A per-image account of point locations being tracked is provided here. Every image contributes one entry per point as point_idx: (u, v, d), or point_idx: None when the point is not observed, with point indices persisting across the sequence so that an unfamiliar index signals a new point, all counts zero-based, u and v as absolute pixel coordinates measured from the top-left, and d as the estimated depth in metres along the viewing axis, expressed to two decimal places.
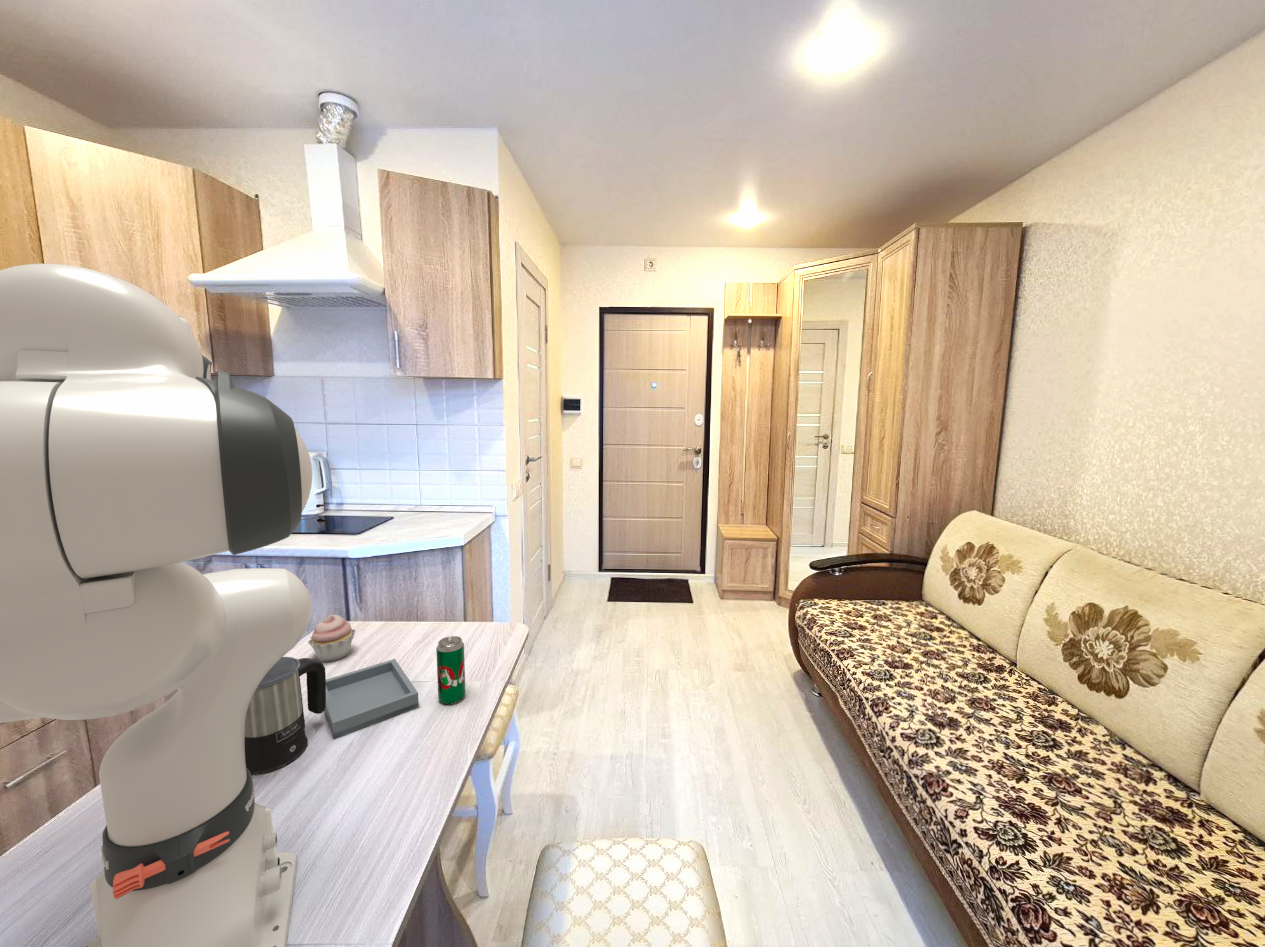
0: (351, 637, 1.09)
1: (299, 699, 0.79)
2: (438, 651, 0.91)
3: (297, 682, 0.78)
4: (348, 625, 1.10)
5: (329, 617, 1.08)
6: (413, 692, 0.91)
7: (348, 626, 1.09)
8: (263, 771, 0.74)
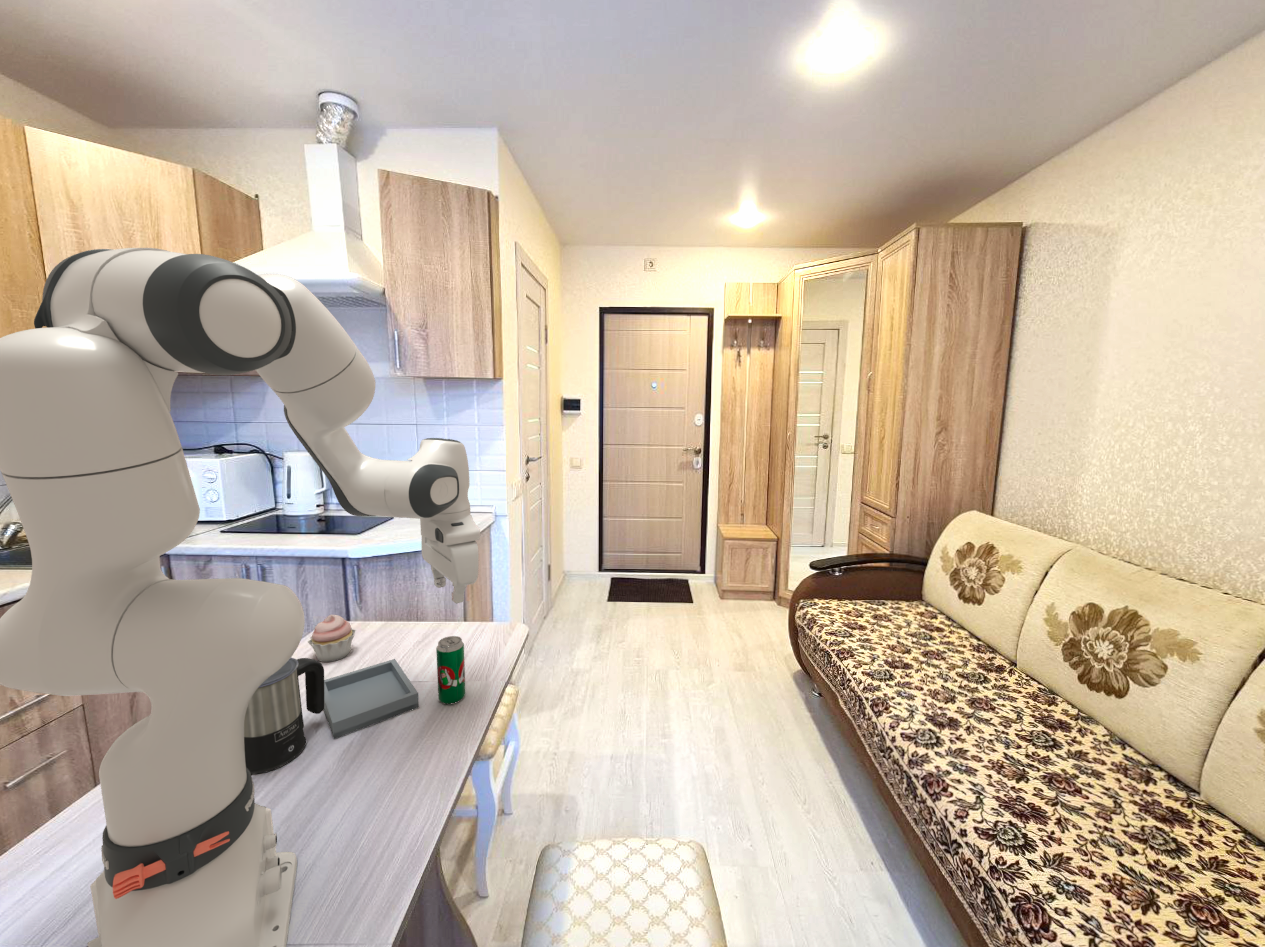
0: (351, 637, 1.09)
1: (297, 699, 0.79)
2: (438, 651, 0.91)
3: (296, 682, 0.78)
4: (348, 625, 1.10)
5: (329, 617, 1.08)
6: (413, 692, 0.91)
7: (348, 626, 1.09)
8: (261, 771, 0.74)
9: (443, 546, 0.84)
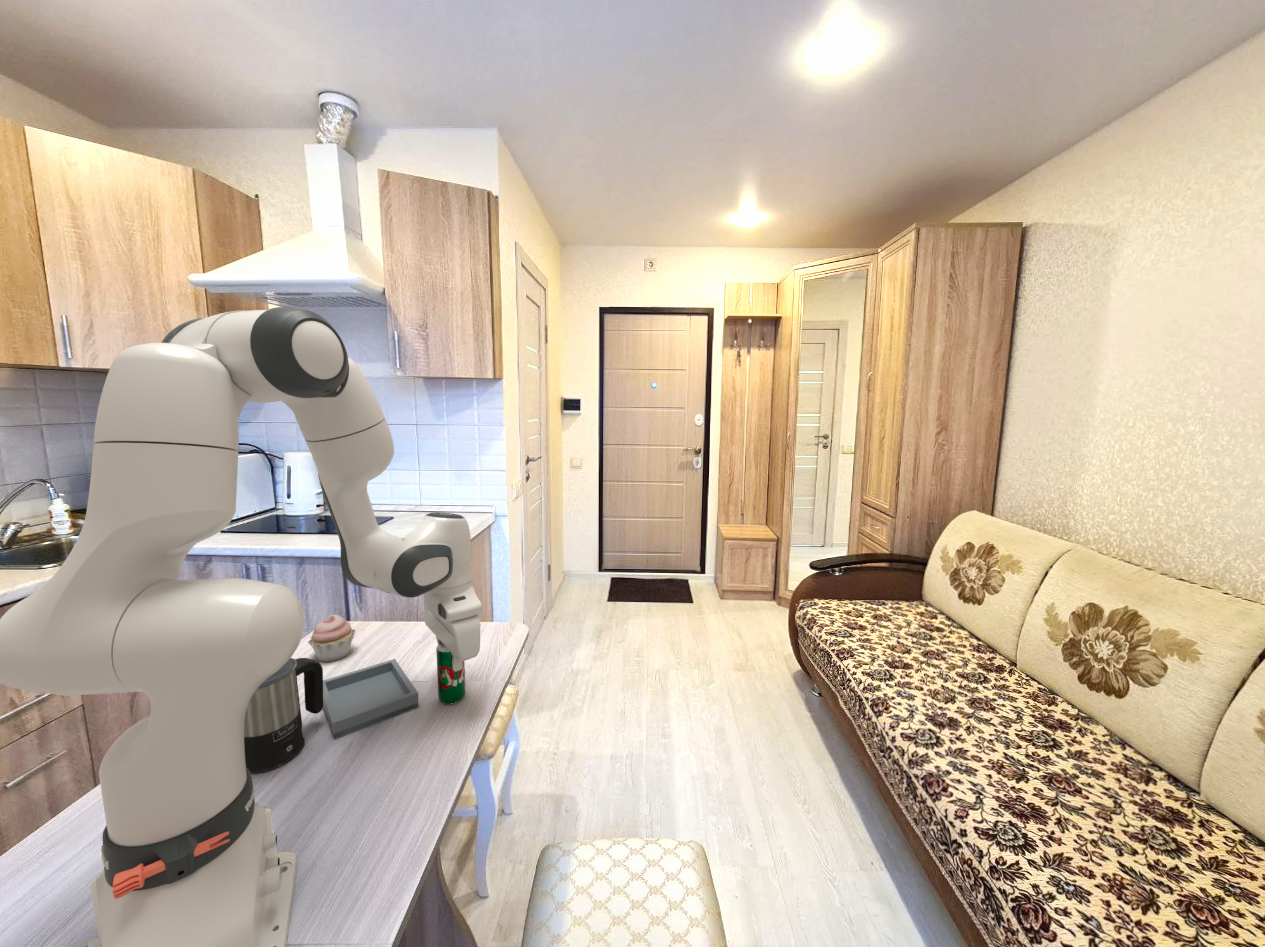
0: (351, 637, 1.09)
1: (296, 699, 0.79)
2: (438, 651, 0.91)
3: (294, 682, 0.78)
4: (348, 625, 1.10)
5: (329, 617, 1.08)
6: (413, 692, 0.91)
7: (348, 626, 1.09)
8: (260, 771, 0.74)
9: (446, 621, 0.85)
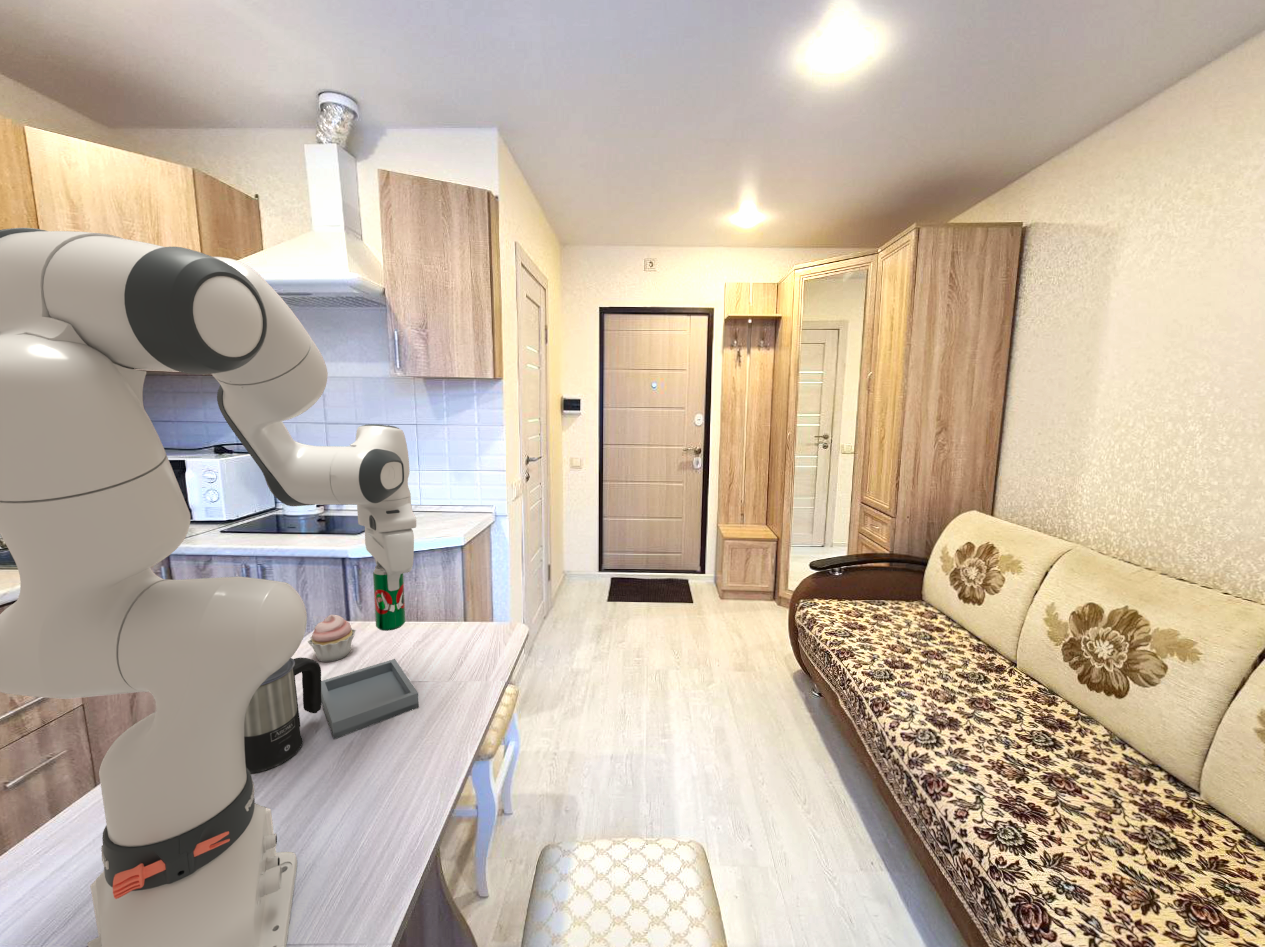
0: (351, 637, 1.09)
1: (294, 698, 0.79)
2: (374, 574, 0.88)
3: (292, 681, 0.78)
4: (348, 625, 1.10)
5: (329, 617, 1.08)
6: (413, 692, 0.91)
7: (348, 626, 1.09)
8: (257, 770, 0.74)
9: (377, 534, 0.82)
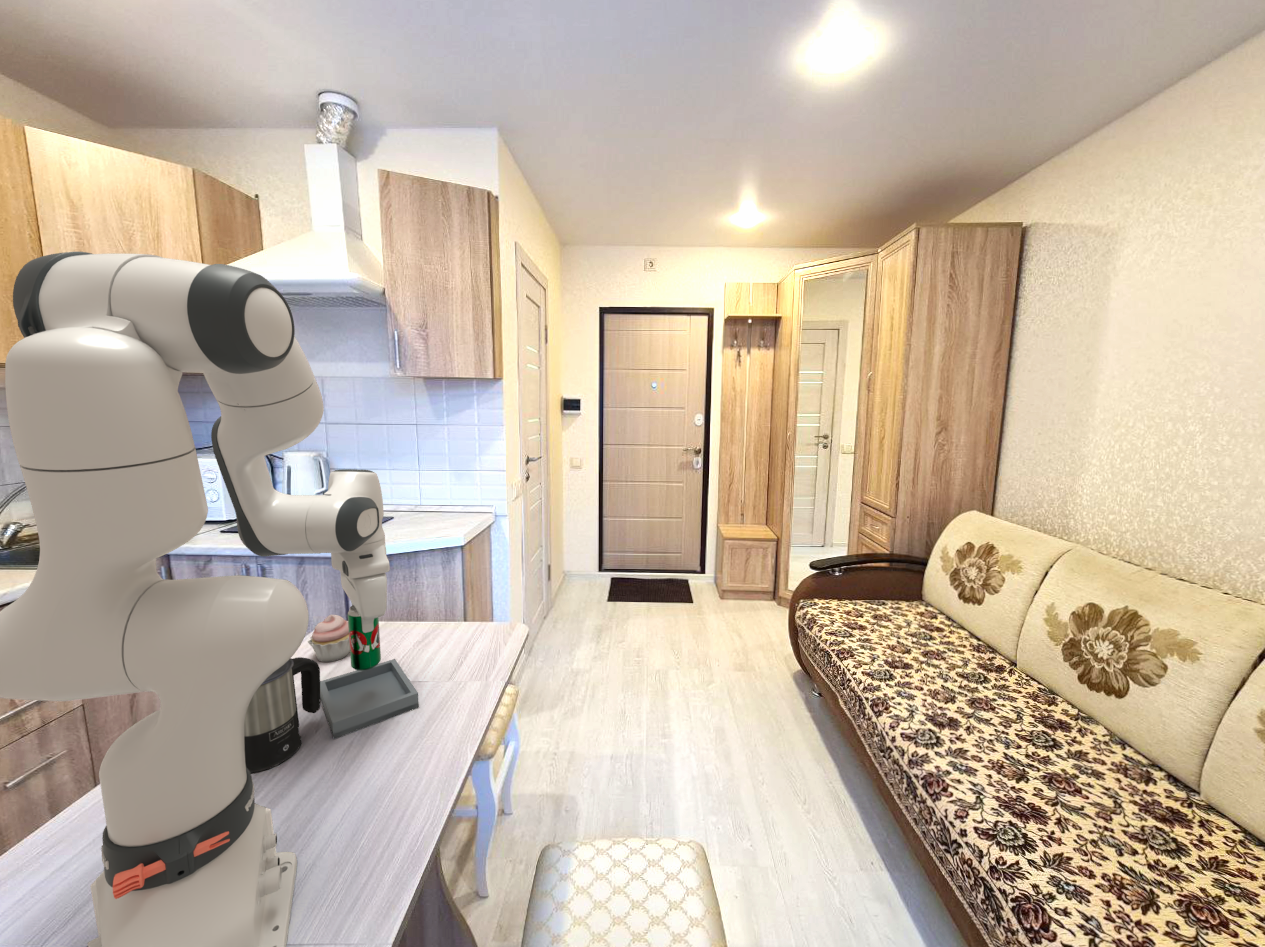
0: None
1: (292, 698, 0.79)
2: (349, 616, 0.88)
3: (291, 681, 0.78)
4: None
5: (329, 617, 1.08)
6: (413, 692, 0.91)
7: None
8: (256, 770, 0.75)
9: (350, 579, 0.83)
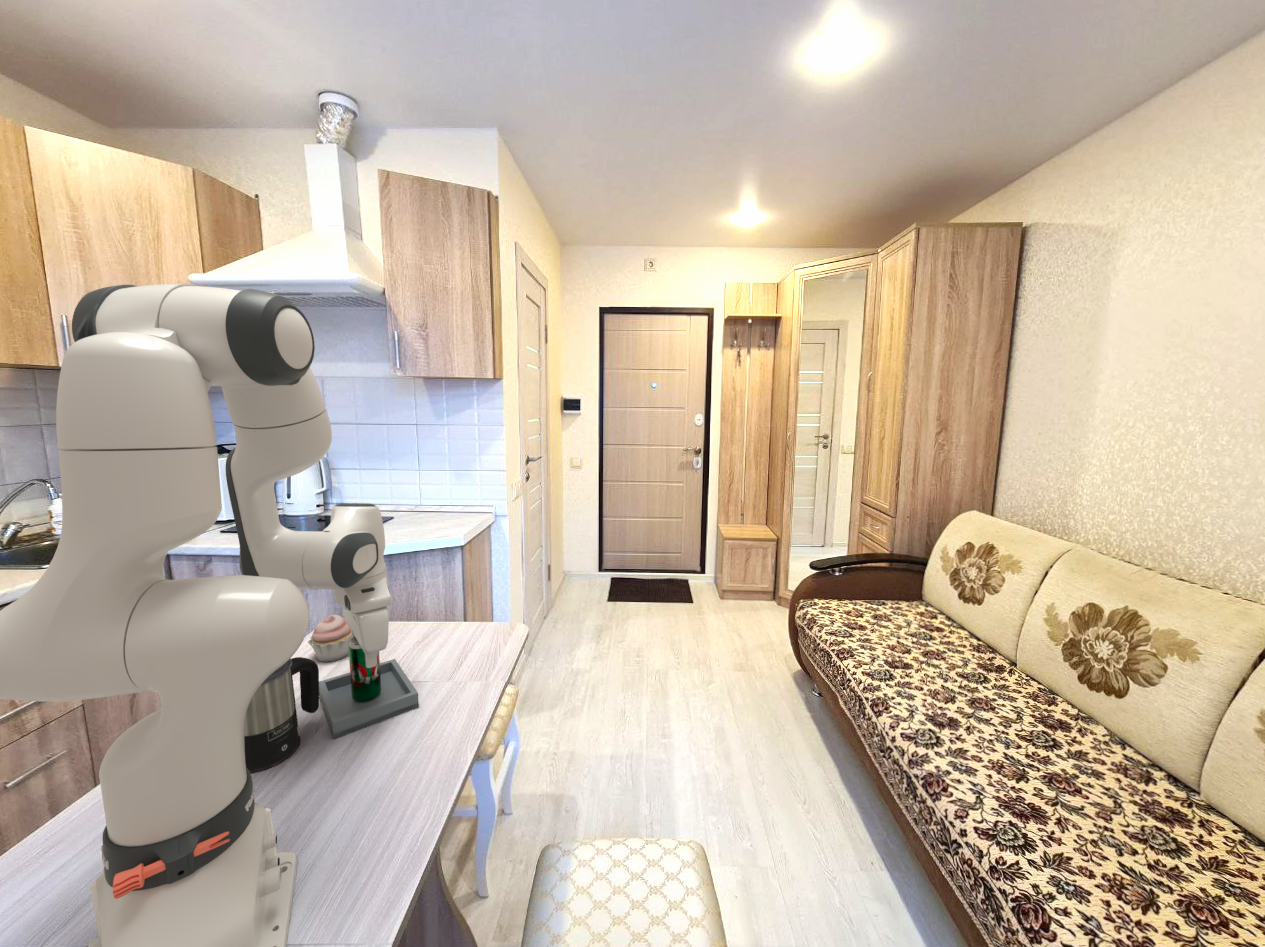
0: (351, 637, 1.09)
1: (291, 698, 0.79)
2: (349, 648, 0.90)
3: (289, 681, 0.78)
4: (348, 625, 1.10)
5: (329, 617, 1.08)
6: (413, 692, 0.91)
7: (348, 626, 1.09)
8: (254, 770, 0.75)
9: (352, 613, 0.84)
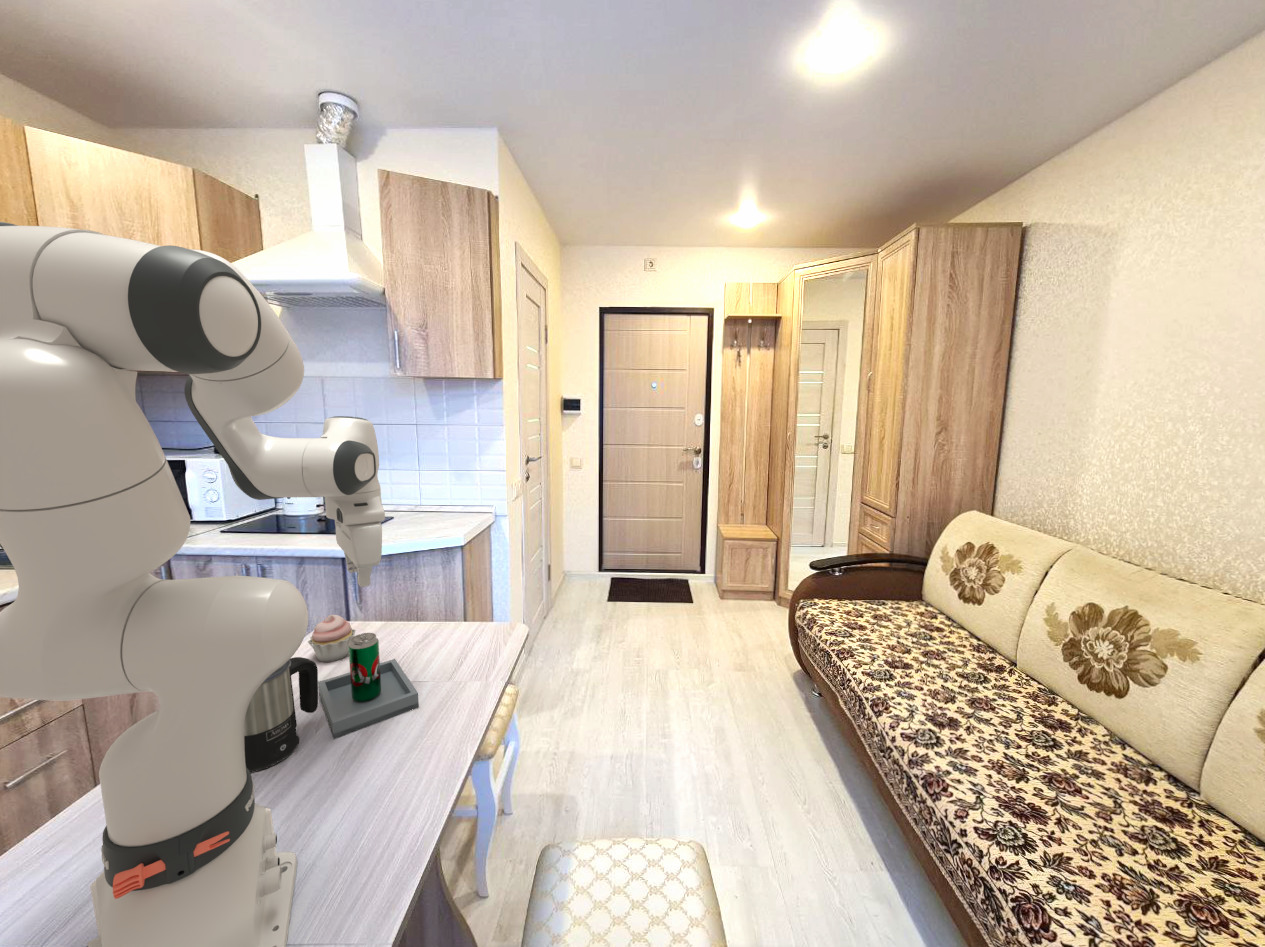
0: (351, 637, 1.09)
1: (290, 698, 0.79)
2: (349, 648, 0.90)
3: (288, 681, 0.78)
4: (348, 625, 1.10)
5: (329, 617, 1.08)
6: (413, 692, 0.91)
7: (348, 626, 1.09)
8: (253, 770, 0.75)
9: (344, 527, 0.81)
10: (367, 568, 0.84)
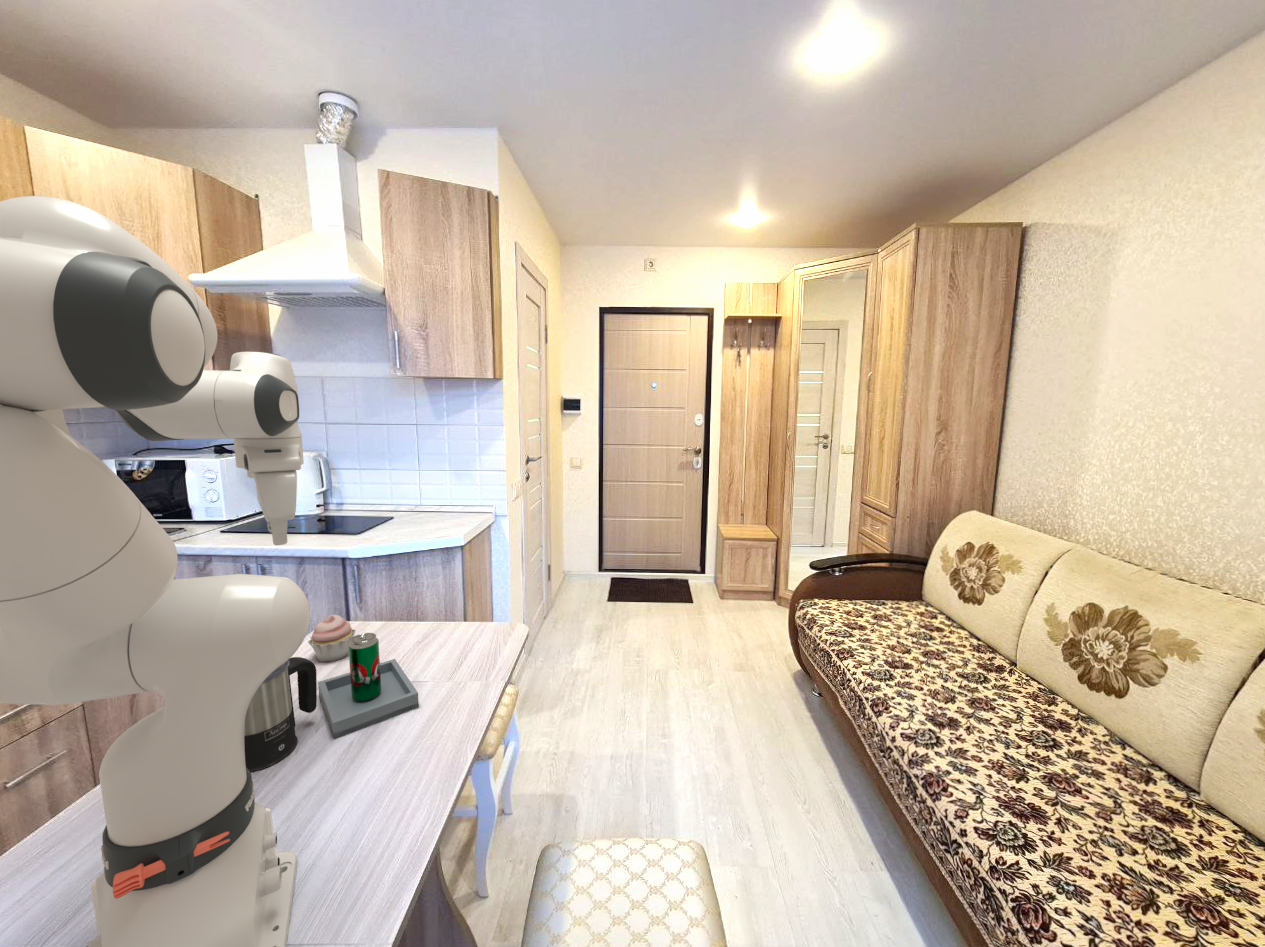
0: (351, 637, 1.09)
1: (288, 698, 0.79)
2: (349, 648, 0.90)
3: (286, 681, 0.78)
4: (348, 625, 1.10)
5: (329, 617, 1.08)
6: (413, 692, 0.91)
7: (348, 626, 1.09)
8: (251, 769, 0.75)
9: (252, 475, 0.72)
10: (282, 524, 0.74)
